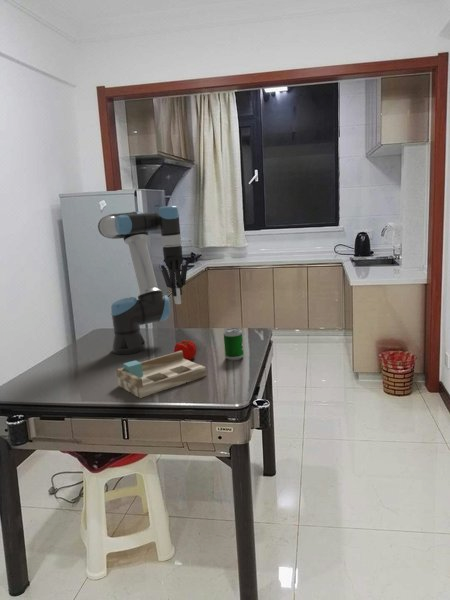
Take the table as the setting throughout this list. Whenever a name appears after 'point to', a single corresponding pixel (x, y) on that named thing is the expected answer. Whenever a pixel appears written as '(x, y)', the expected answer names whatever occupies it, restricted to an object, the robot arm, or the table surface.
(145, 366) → the board
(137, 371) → the teal block
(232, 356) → the soda can
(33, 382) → the table surface
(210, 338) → the table surface
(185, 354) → the tomato
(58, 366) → the table surface
